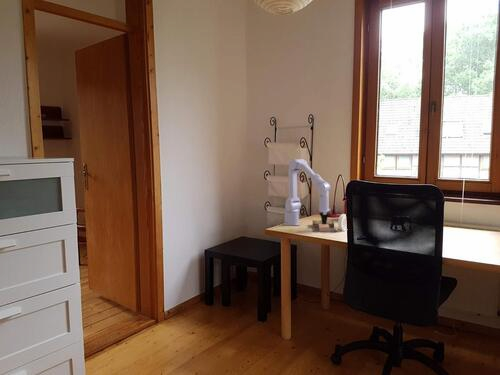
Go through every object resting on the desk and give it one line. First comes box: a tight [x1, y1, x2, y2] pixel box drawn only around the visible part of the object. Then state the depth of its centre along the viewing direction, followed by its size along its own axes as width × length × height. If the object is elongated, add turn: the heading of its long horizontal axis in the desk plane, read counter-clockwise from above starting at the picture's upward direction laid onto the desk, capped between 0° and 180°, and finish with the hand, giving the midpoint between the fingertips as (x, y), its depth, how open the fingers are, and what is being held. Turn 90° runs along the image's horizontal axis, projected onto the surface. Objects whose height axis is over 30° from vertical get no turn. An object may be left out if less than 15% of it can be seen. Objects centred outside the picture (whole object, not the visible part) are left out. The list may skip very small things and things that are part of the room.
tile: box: [319, 224, 330, 231], centre depth 239 cm, size 6×9×2 cm, turn 173°
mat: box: [312, 227, 338, 233], centre depth 239 cm, size 14×10×1 cm
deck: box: [312, 219, 335, 229], centre depth 250 cm, size 13×11×3 cm
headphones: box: [337, 213, 347, 232], centre depth 241 cm, size 22×2×10 cm, turn 139°
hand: (324, 224), depth 239 cm, fingers closed
